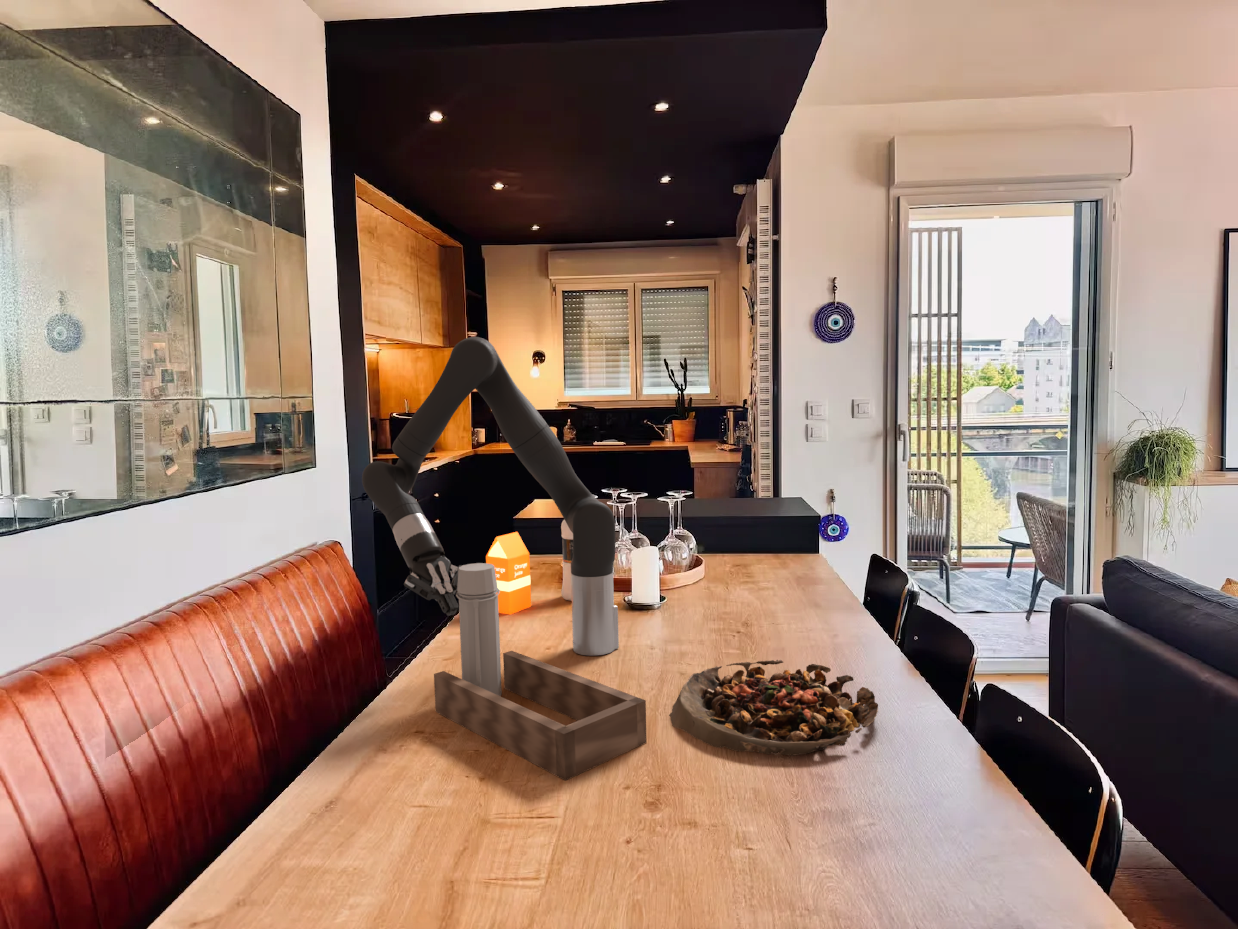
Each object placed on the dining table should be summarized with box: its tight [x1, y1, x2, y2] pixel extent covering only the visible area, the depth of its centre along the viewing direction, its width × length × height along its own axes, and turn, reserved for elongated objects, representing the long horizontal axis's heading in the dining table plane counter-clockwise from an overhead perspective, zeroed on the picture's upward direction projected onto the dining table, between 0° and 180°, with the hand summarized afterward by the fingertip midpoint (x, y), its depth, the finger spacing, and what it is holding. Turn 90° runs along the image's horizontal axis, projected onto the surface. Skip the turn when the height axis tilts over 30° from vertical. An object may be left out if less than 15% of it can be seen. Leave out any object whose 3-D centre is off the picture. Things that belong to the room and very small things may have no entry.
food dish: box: [668, 659, 879, 756], centre depth 134 cm, size 35×33×8 cm
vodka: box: [560, 518, 573, 602], centre depth 214 cm, size 9×9×30 cm
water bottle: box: [455, 562, 503, 697], centre depth 142 cm, size 9×8×25 cm
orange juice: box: [485, 531, 532, 615], centre depth 205 cm, size 8×9×20 cm
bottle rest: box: [433, 650, 647, 781], centre depth 132 cm, size 36×17×7 cm, turn 44°
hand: (453, 612), depth 148 cm, fingers closed
